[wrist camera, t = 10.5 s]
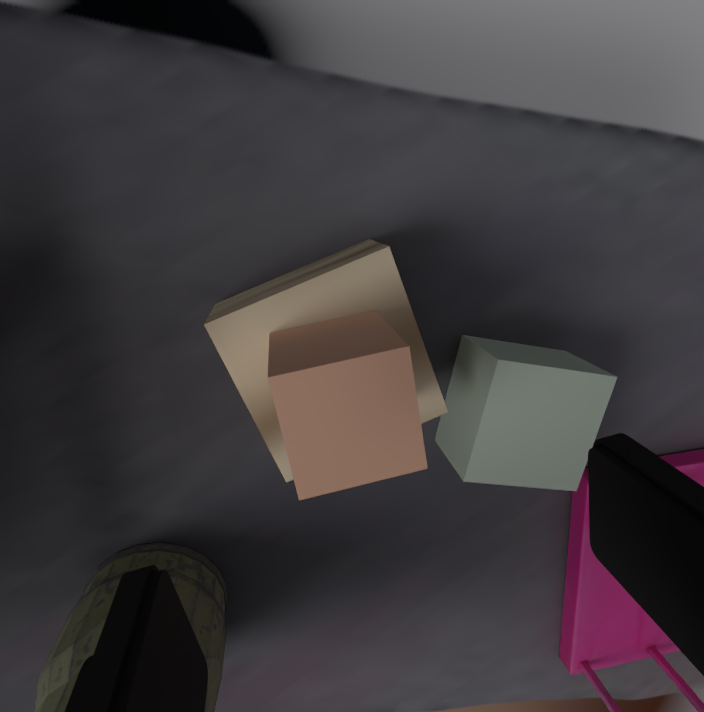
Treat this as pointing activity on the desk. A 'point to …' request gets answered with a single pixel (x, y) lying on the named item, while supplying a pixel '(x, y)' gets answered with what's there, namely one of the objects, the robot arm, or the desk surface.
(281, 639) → the desk surface
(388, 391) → the terracotta block
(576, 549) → the file sorter
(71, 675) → the thermos
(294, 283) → the maple block
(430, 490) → the desk surface
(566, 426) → the sage block
